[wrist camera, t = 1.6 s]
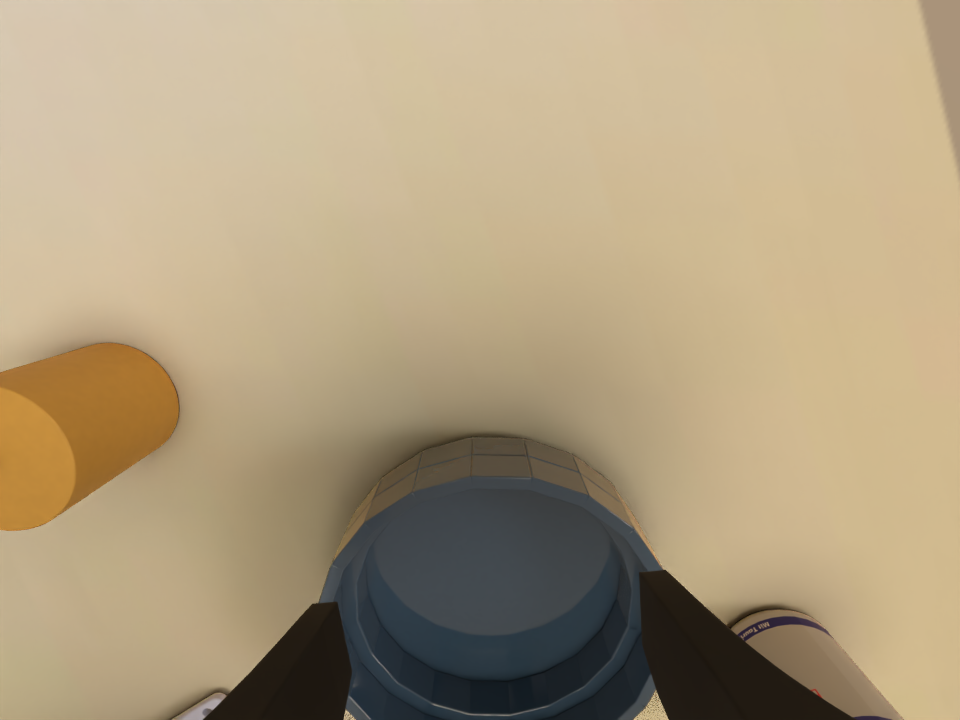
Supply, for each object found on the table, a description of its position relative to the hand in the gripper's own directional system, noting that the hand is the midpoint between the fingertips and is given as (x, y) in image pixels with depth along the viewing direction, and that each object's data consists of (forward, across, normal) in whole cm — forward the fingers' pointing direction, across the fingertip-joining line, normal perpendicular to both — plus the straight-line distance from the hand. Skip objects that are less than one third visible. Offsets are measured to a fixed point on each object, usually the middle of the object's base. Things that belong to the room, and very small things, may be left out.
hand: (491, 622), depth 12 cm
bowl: (+9, 0, +6) cm, 11 cm away
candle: (+9, +14, -4) cm, 18 cm away
